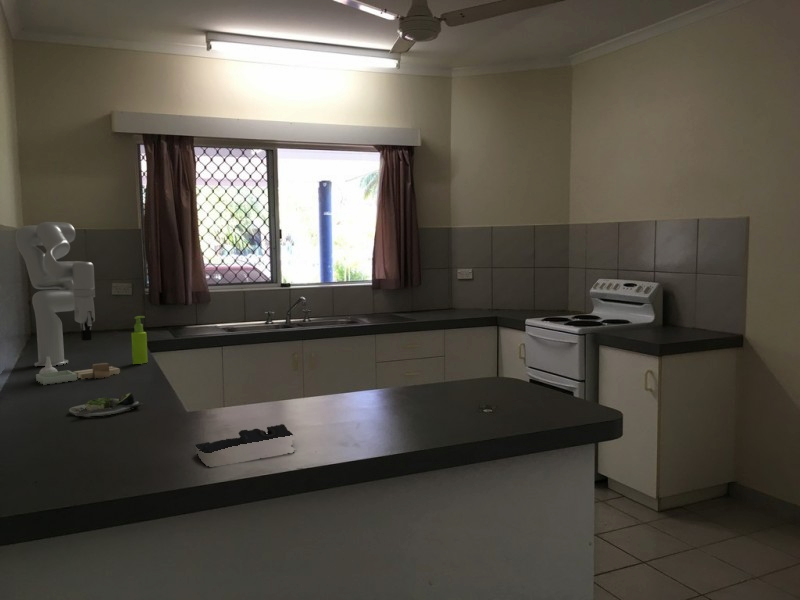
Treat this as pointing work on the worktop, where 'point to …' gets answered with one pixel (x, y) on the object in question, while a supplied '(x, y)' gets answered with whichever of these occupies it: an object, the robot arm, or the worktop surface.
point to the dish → (56, 377)
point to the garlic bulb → (48, 367)
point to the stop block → (100, 370)
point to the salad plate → (105, 406)
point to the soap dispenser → (139, 343)
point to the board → (89, 373)
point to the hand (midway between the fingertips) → (86, 340)
